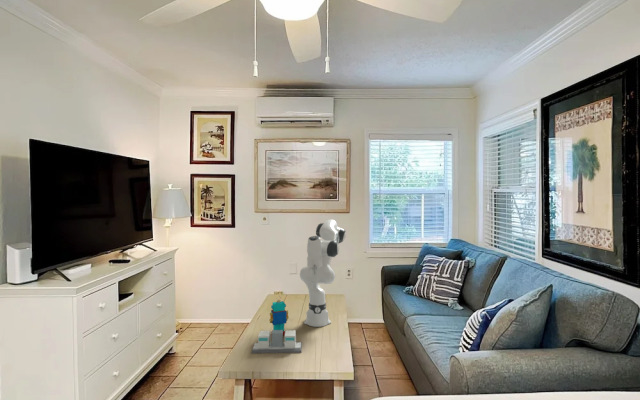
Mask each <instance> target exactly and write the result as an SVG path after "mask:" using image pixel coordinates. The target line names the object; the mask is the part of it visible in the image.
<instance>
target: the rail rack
mask: <svg viewBox="0 0 640 400" xmlns="http://www.w3.org/2000/svg"><path fill="white" fill-rule="evenodd" d="M284 331H285V336H284V342H283V346H282V347H272V342H271V330H260V331H259V333H258V336H257V342H254V343H253V346H252V349H251V354H285V353H286V354H287V353H288V354H290V353H291V354H293V353H295V354H297V353H299V354H300V353H302V349H303V348H302V347H303V346H302V345H303V342H301V341H300V342H297V334H296V333H297V332H296V331H297V330H295V329H293V330H290V329H289V330H284Z"/></svg>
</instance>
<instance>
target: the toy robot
mask: <svg viewBox="0 0 640 400" xmlns="http://www.w3.org/2000/svg"><path fill="white" fill-rule="evenodd" d="M279 297H280V296H279ZM286 307H287V304H286V303H285V302H284V300H283V301H281V297H280V299H276V301H274V302H272V305H271V310H270V312H269V316H270V318H269V324H272V327H273V329H272V330H283V337H285V331H286V330H285V324H287V321H288V320H289V310H287V309H286ZM270 335H272V331H270Z"/></svg>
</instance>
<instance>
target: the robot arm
mask: <svg viewBox="0 0 640 400" xmlns="http://www.w3.org/2000/svg"><path fill="white" fill-rule="evenodd" d="M315 234H316V235H313V236H309V237H308V239H307V244H306V245H307V246H306V253H307V258H306V261H307V262H306V263H307V265H306V266H303V267H302V268H301V269H300V272H299V276H300V277H299V278H300V280H301V281H302V282H303V283H304V284H305V285H306V287H307V290H308V297H309V301H308V310H307V311H306V312H305V313H306V317H305V320H304V321H303V324H304V325H308V326H310V327H315V328H317V327H318V328H320V327H325V326H327V325H330V324H332V321H331V319H330V318H329V311H328V310H327V302H326V291H325V289H323V288H322V287H321V286H320V284H322V285H329V284H333V283H334V282H335V280H336V273H335V270H333V268H332V267H331V262H332V258H335V257H336V256H337V255H338V254H339V252H340V244H341V243H343V242H344V240H345V238H346V235H347V233H346V230H345V229H344V228H342V227H339V226H338V223H337V221H336V220H334V219H332V218H331V219H327V220H326V221H324V222H320V223H319V224H318V225H317V226H316V228H315Z"/></svg>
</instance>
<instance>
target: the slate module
mask: <svg viewBox="0 0 640 400" xmlns="http://www.w3.org/2000/svg"><path fill="white" fill-rule="evenodd" d="M271 332H272V334H271V343H272V347H282V346H283V343H284V336H283V330H273V329H272V331H271Z"/></svg>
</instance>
